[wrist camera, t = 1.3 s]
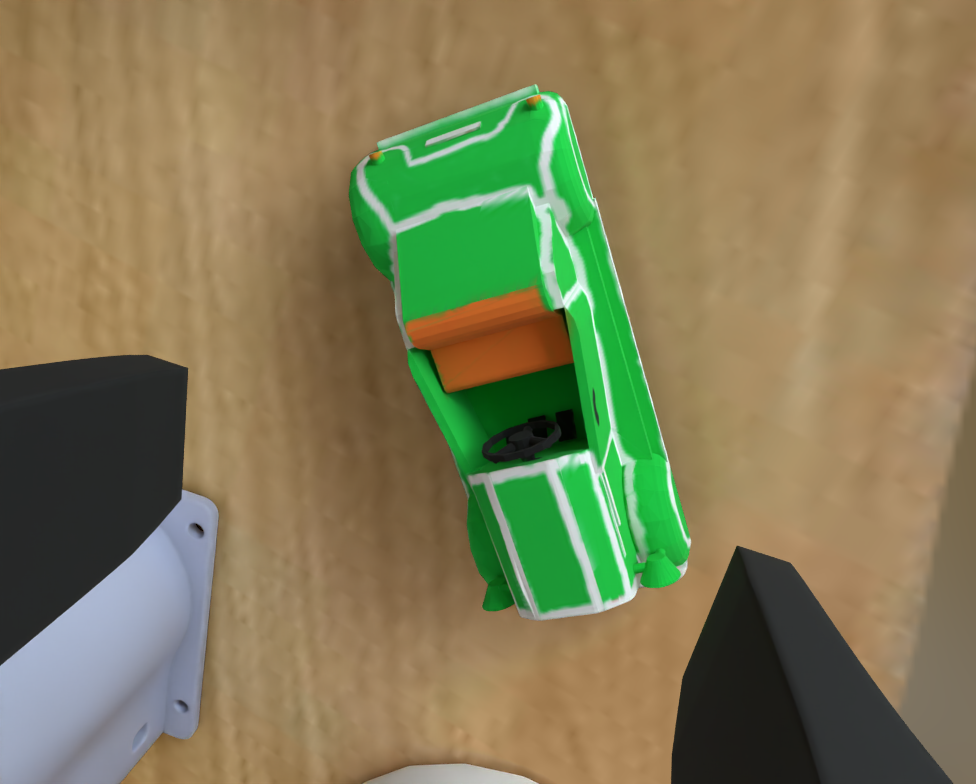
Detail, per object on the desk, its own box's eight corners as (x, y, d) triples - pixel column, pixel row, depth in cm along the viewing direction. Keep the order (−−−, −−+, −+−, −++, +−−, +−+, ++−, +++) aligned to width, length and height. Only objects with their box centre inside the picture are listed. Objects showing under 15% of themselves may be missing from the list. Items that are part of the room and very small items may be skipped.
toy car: (698, 549, 20) (702, 657, 16) (514, 578, 22) (476, 683, 18) (568, 77, 17) (533, 68, 13) (363, 151, 19) (277, 163, 15)
